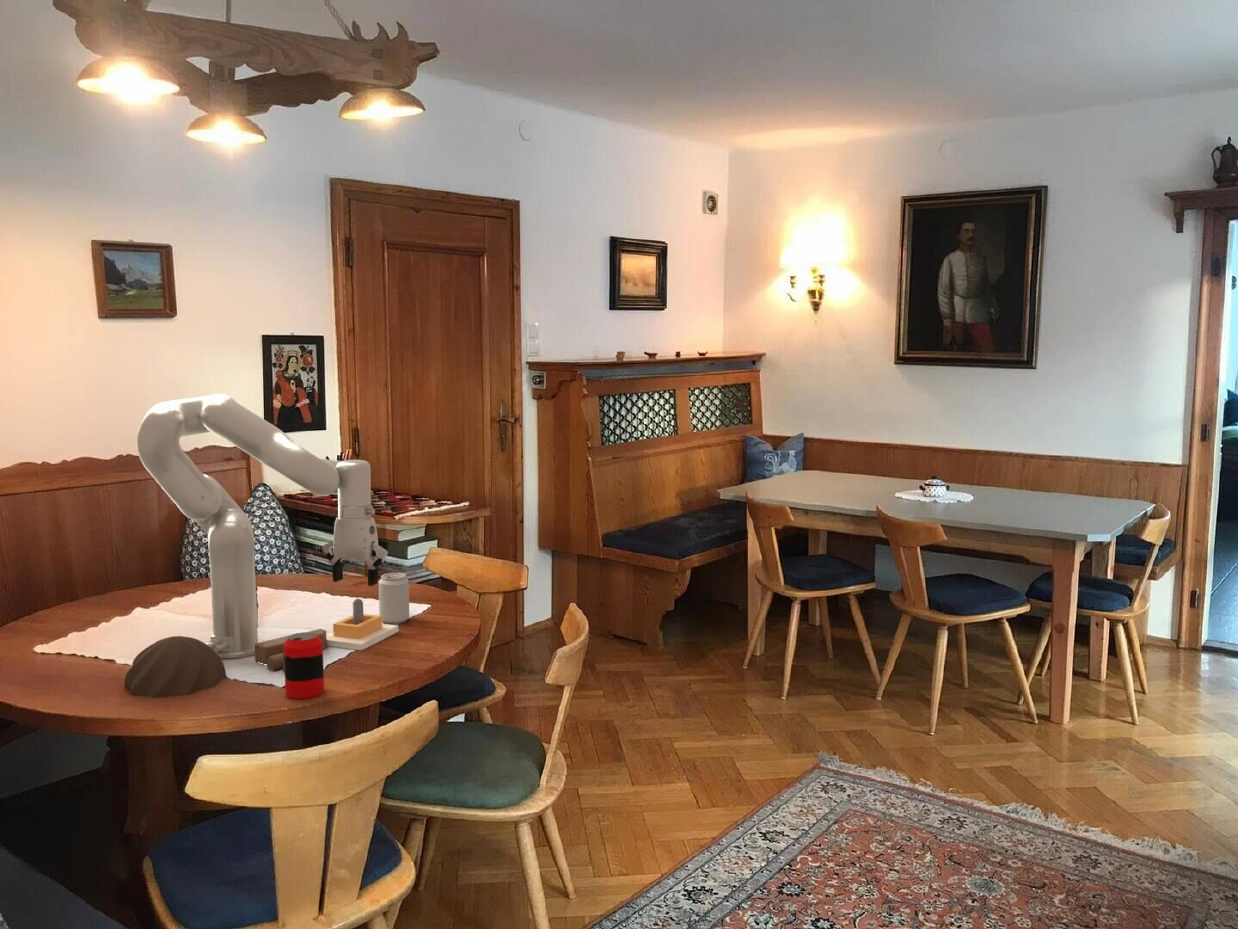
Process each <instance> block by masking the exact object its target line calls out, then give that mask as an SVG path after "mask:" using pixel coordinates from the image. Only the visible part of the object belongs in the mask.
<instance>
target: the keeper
mask: <svg viewBox="0 0 1238 929" xmlns="http://www.w3.org/2000/svg"><path fill="white" fill-rule="evenodd" d="M363 614H364V601H363V600H362V599H361V598H355V599H353V602H352V615H353V624H354V625H358V624H360V623H362V622H364V618H363ZM398 632H399V625H398V624H397V625H396V624H387V623H382V628H381V629H379V630H377V631H375V632H373V633H371V634H369V635H367V636H365V637H363V638H361V639H351V638H343V637H335V636H334V633H333V631H331V632H329V633H326V639H327V646H326V647H329V646H335V647H334V648H337V647H341V648H340V649H346V648H348V649H347V650H353V651H354V650H355V651H363V650H366V649H368V648H369V647H371V646H373V645H375V644H377V643H379V642H381V641H383V640H385V639H387V638H389V637H391V636H392V635H395V634H396V633H398Z"/></svg>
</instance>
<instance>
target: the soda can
mask: <svg viewBox="0 0 1238 929" xmlns="http://www.w3.org/2000/svg"><path fill="white" fill-rule="evenodd" d="M289 635H290V634H289ZM289 635H288V636H289ZM284 668H285V673H284V688H285V690H284V691H285V692H284V693H285V695H286V696H287V697H288V698H290V699H293V700H307V699H313V698H316V697H319V696H321V695H322V694H323V693H324V692H325V676H324V673H325V672H324V650H323V641H322V640H321V639H320V638H319V637H318V635H317V634H316V633H311V632H309V631H305V632H296V633H292V634H291V635H290V636H289V637H288V639H287V640H286V642H285V643H284Z"/></svg>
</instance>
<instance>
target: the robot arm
mask: <svg viewBox="0 0 1238 929" xmlns="http://www.w3.org/2000/svg"><path fill="white" fill-rule="evenodd" d="M207 433H213V434H214V435H216V436H217V437H218V438H221V439H223V440H224V441H226V442H228V443H230V444H231V445H233V446H235V447H236V448H238V449H240V450H241V451H242V452H244V453H246V454H247V455H249V456H251V457H253V458H254V459H255V460H257V461H259V462H260V463H261V464H264V465H265V466H267V467H269V468H270V469H272V470H274V471H276V473H277V472H278V473H279V474H281V475H282V476H283V477H285V478H287V479H288V480H291V481H292V482H293V483H295V484H297V486H300V487H301V488H303V489H305V490H307V491H308V492H310V493H311V494H313V495H316V496H320V497H324V496H330V495H332V494H333V493H335V492H336V491H337V504H338V505H337V511H338V512H337V513H338V514H337V516H336V518H335V522H334V530H333V540H332V541H330V542H327V543H326V544H324V545H322V550H323V552H324V553H325V557H326V559H327V560H328V561H329V564H330V566H331V568H332V572H331V573H332V574H331V576H332V581H333V583H337V582H339V581H342V580H343V579H344V565H343V563H342V562H343V560H349V561H350V560H351V561H357V562H358V561H359V562H365V564H366V565H367V566H368V567H369V569H368V570H367V585H368V587H372V586H375V585H378V584H379V568H381V566H382V565H383V563H385V562H386V561H385V560H386V558H387V556H388V553H389V552H388V550H387V549H385V548H384V547H382V546H380V545H379V540H378V539H379V538H378V530H377V524H376V521H375V518H374V517H372V516H373V515H375V514H376V510H375V509H374V508H372V504H371V503H372V491H371V490H372V489H371V488H372V486H371V485H372V484H371V483H372V482H371V480H372V479H371V478H372V477H371V476H372V474H371V471H372V469H371V464H370V463H369V462H368V461H367V460H363V459H345V460H333V459H324V458H319V457H317V456H316V455H314V454H313V453H312V452H310V451H308V450H307V449H305V448H303V447H302V446H300V445H299V444H297V443H296V442H295V441H294V440H293V439H291V438H290V437H289V436H288V435H287V434H286V433H285V432H283V430H281V429H280V428H278V427H277V426H276V425H274V424H272V423H270V422H269V421H268V420H266V419H264V418H262V417H261V416H259V415H258V414H256V413H254V412H252V411H251V410H249V409H248V408H246V407H244V406H243V405H242V404H240V403H238V402H237V401H236V400H235V399H233V397H231V396H229V395H227V394H224V393H223V394H222V393H215V394H209V395H204V396H198V397H190V398H184V399H183V398H182V399H175V400H169V401H168V400H167V401H162V402H159V403H157V404H155V405H153V406H152V407H151V408H150V409H149V410H148V411H147V413H146V414H145V416H144V417H143V419H142V421H141V424H140V426H139V428H138V432H137V435H136V450H137V454H138V456H139V459H140V462H141V463H142V465H143V467H144V468H145V469H146V471H147V472H148V473H149V474H150V475H151V477H152V478H153V479H154V480H155V481H156V483H157V484H158V485H159V486H160V488H161V489H162V490H163V491H164V492H165V493H166V494H167V496H168V497H169V498H170V499H171V501H172V502H173V503H174V504H175V505H176V506H177V508H178V509H179V510H180V512H181V513H182V514H183V515H184V516H186V517H187V518H189V519H190V520H194V521H195V522H196V523H197V524H198V525H199V526H200V528H201V529H202V530H203V531H204V532H205V533H206V535H207V536H208V543H207V544H208V555H209V556H208V557H209V569H210V570H209V571H210V588H211V589H210V590H211V591H210V592H211V612H212V626H213V627H212V628H213V629H212V631H213V634H212V635H210V640H209V641H208V642H206V643H205V644H207V645H208V646H209V647H211V648H212V649H213V650H214V651H215V652H216V653H217V654H218V655H219V657H220V658H221V659H237V658H236V657H239V658H244V656H245V657H248V656H249V657H250V656H255V644H256V643H260V642H264V641H265V640H263V639H261V638H259V636H258V635H259V634H258V614H257V613H258V612H257V610H258V609H257V591H256V589H257V588H256V587H257V586H256V564H255V535H254V530H253V529H254V528H253V524H252V522H251V520H250V517H248V515H247V514H246V513H245V511H244V510H243V509H242V508H241V507H240V506H239V505H238V504H237V502H236V501H235V499H233V498H232V497H231V495H229V493H228V492H227V491H226V490H225V488H224V487H223V486H222V485H221V484H220V483H219V482H218V481H217V480H216V479H215V478H214V477H212V476H210V475H207V474H204V473H203V472H202V471H201V470H200V469H199V467H198V466H197V465H196V464H195V463H194V462H193V460H192V459H191V458H190V457H189V456H188V455H187V453H185V451H184V450H183V449H182V446H181V445H180V444H181V443H180V439H181V437H188V436H194V435H200V434H207ZM377 557H378V558H377Z"/></svg>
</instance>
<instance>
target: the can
mask: <svg viewBox="0 0 1238 929" xmlns="http://www.w3.org/2000/svg"><path fill="white" fill-rule="evenodd" d="M406 576H407V575H406V573H404V572H388V573H383V574H382V575H380V579H379V580H378V607H379V608H378V609H379V613H378V616H382V623H383V624H388V625H396V624H397V625H398V624H402V623H405V622H406V621H407V620H408V619H409V618H410V584H409V582H410V581H409V579H408V578H407V577H406Z"/></svg>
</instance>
